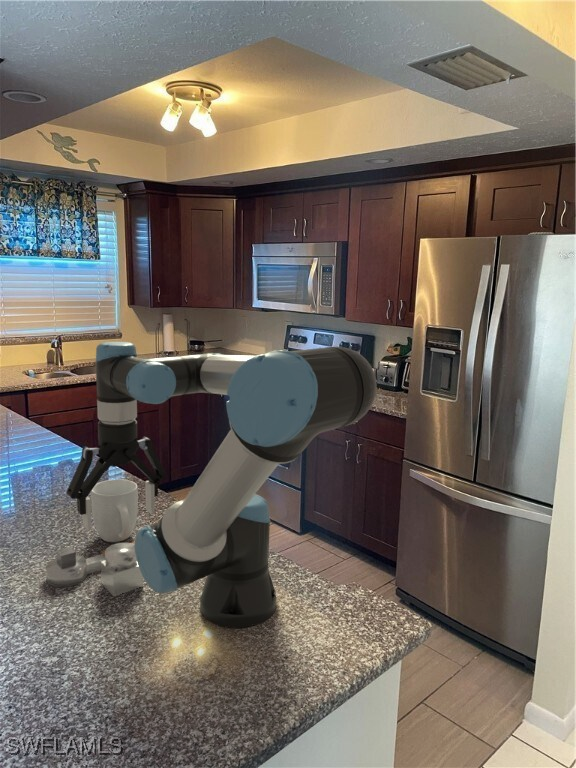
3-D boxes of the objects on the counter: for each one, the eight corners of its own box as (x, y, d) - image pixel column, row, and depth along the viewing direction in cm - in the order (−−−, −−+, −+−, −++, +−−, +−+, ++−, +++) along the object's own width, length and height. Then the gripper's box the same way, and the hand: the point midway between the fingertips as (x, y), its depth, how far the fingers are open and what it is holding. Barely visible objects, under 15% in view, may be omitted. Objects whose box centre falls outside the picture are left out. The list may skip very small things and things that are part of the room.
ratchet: (150, 560, 128) (150, 535, 127) (54, 591, 114) (52, 564, 113) (135, 547, 134) (134, 523, 133) (41, 575, 120) (40, 549, 119)
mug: (150, 546, 135) (149, 495, 132) (104, 558, 129) (102, 504, 126) (130, 523, 147) (129, 476, 144) (87, 532, 141) (85, 483, 138)
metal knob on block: (143, 586, 117) (142, 551, 116) (113, 596, 113) (112, 560, 112) (130, 573, 122) (129, 539, 121) (101, 583, 118) (100, 548, 117)
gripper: (165, 408, 122) (165, 499, 126) (46, 424, 106) (51, 528, 110) (182, 415, 116) (182, 511, 120) (59, 433, 100) (64, 543, 104)
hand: (119, 519), depth 115 cm, fingers open, 13 cm apart
